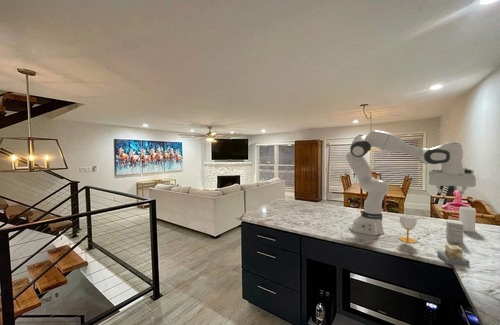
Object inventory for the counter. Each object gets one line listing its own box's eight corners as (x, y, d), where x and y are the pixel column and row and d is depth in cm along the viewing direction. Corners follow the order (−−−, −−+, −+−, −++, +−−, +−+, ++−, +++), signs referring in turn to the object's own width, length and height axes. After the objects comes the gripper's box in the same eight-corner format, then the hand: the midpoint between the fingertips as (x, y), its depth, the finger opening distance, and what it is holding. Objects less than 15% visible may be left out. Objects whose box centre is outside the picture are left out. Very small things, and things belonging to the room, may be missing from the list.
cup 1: (399, 241, 136) (399, 217, 135) (398, 236, 144) (399, 213, 143) (417, 244, 131) (417, 219, 130) (415, 239, 139) (416, 215, 138)
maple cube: (450, 257, 110) (450, 248, 110) (445, 253, 115) (445, 244, 115) (462, 259, 108) (462, 249, 108) (456, 254, 113) (457, 245, 113)
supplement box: (445, 237, 141) (446, 218, 140) (461, 240, 136) (461, 221, 135) (446, 241, 135) (447, 222, 134) (463, 244, 130) (463, 224, 129)
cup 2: (462, 230, 150) (463, 209, 150) (456, 226, 158) (457, 206, 157) (477, 232, 148) (478, 210, 147) (470, 228, 155) (471, 206, 154)
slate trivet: (447, 264, 109) (448, 259, 109) (437, 256, 118) (437, 251, 117) (469, 266, 107) (469, 261, 106) (456, 258, 115) (457, 252, 115)
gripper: (430, 170, 123) (430, 193, 124) (478, 171, 115) (477, 195, 115) (427, 169, 129) (426, 191, 130) (471, 169, 120) (470, 193, 121)
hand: (450, 193), depth 122 cm, fingers open, 8 cm apart
